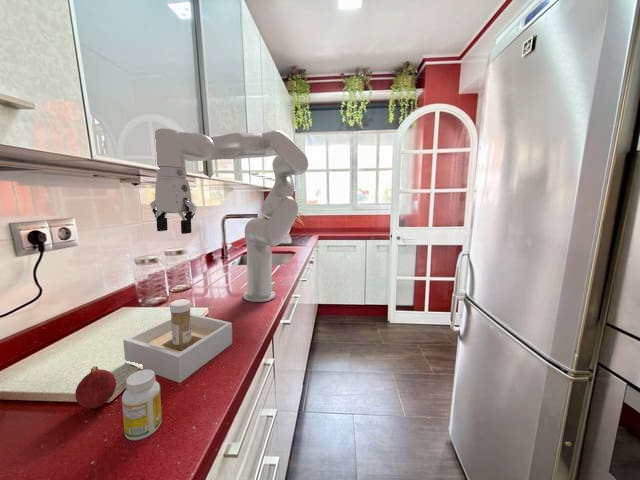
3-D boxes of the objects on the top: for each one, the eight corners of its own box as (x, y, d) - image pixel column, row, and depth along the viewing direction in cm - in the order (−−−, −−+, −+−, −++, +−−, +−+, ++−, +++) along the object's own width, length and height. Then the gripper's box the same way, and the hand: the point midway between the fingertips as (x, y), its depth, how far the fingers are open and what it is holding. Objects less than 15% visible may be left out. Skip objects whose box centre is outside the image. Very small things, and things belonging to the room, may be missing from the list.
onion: (124, 401, 51) (121, 363, 50) (88, 423, 46) (84, 382, 44) (106, 391, 53) (103, 354, 52) (70, 411, 48) (65, 371, 47)
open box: (184, 330, 78) (183, 311, 77) (232, 343, 72) (231, 322, 71) (125, 363, 62) (123, 339, 61) (179, 383, 56) (178, 357, 55)
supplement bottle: (133, 447, 42) (129, 393, 40) (118, 431, 44) (113, 379, 43) (168, 423, 46) (165, 374, 45) (152, 410, 49) (149, 363, 48)
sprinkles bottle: (193, 354, 67) (191, 303, 65) (172, 359, 64) (170, 307, 62) (191, 345, 70) (189, 297, 68) (171, 350, 68) (169, 300, 66)
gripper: (204, 175, 78) (205, 233, 81) (161, 175, 84) (164, 228, 87) (183, 173, 71) (185, 235, 74) (138, 173, 77) (142, 231, 80)
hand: (174, 232), depth 80 cm, fingers open, 9 cm apart
